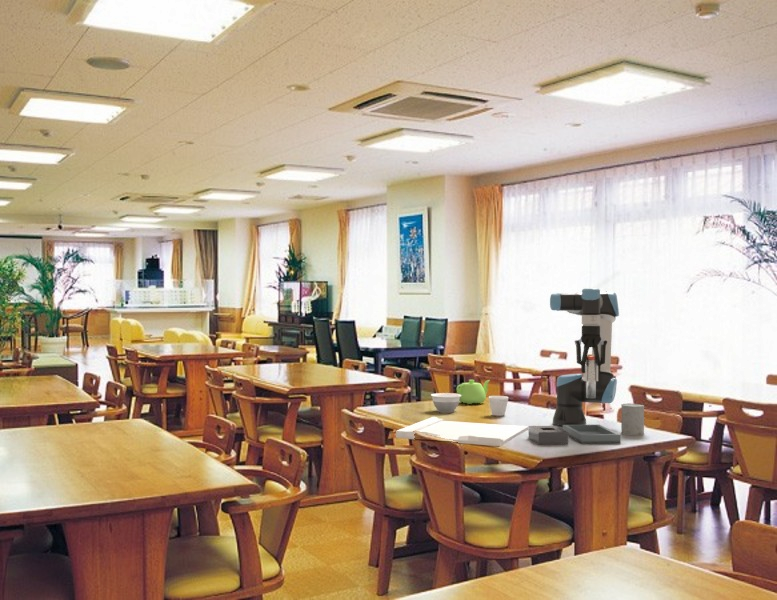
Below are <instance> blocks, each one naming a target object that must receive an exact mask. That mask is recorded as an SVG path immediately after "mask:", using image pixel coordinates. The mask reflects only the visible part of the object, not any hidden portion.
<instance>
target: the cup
mask: <svg viewBox="0 0 777 600" xmlns="http://www.w3.org/2000/svg"><path fill="white" fill-rule="evenodd" d="M488 401H489V407H490V411H491V415H492V416H493V417H504V416H506V410H507V408H508V407H507V406H508V401H509V396H507V395H506V396H504V395H489V396H488Z"/></svg>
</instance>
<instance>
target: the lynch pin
mask: <svg viewBox="0 0 777 600" xmlns="http://www.w3.org/2000/svg"><path fill="white" fill-rule="evenodd" d="M585 365H586V366H587V381H586V398H596V356H592V355H587V360H586V364H585Z"/></svg>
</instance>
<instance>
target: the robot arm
mask: <svg viewBox="0 0 777 600" xmlns="http://www.w3.org/2000/svg"><path fill="white" fill-rule="evenodd" d="M549 307H550V310H551V311H557V312H559V311H560V312H562V311H564V312H567V313H569V314H572V315H577V316H581V324H582V326H581V336H580V339H578V340H574V345H575V347H576V348H575V349H576V351H575V352H576V353H575V355H576V363H577V364H578V365H580V367H581V369H580V370H581V373H569V374H562V375H560V376H558V377H557V379H556V409H555V411H554V415H553V418H552V424H553V426H558V427H560V426H561V427H563V425H587V418H586V415H585V412H584V410H583V409H584V408H583V403H590V404H591V403H593V404H612V403H613V402H614V400H615V398H616V397H615V396H616V393H617V383H618V380H617V378H615V377H614V373H613V372H612V371H611V366H612V365H611V364H612V362H611V360H612V333H613V323H614V322H615V321H616V317H619V316H620V311H619V310H620V309H619V302H618V296H617V293H615V292H614V291H601V290H600V288H583V289H582V290H581V291H580V292H572V293H569V292H567V293H566V292H565V293H559V292H556V293H552V294H550V297H549ZM582 344H583V352H582ZM590 348H591V356H596V398H586V381H587V366H586V360H587V356H589V355H588V354H589V353H588V352H589V350H590Z"/></svg>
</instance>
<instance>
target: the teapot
mask: <svg viewBox="0 0 777 600" xmlns="http://www.w3.org/2000/svg"><path fill="white" fill-rule="evenodd" d="M490 381H491V379H487V380H485V381H484V383H483V385H482V383H480V382H475V379H468V382H462V383H460V384H459V385H457V386H456V394H460V395H461V397H460V398H459V403H462V402H463V403H462V404H467V405H468V404H471V405H473V404H477V403H481V404H482V403H484V402H485V401H486V399H487V398H486V397H487V393H488V385H489V383H490Z"/></svg>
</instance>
